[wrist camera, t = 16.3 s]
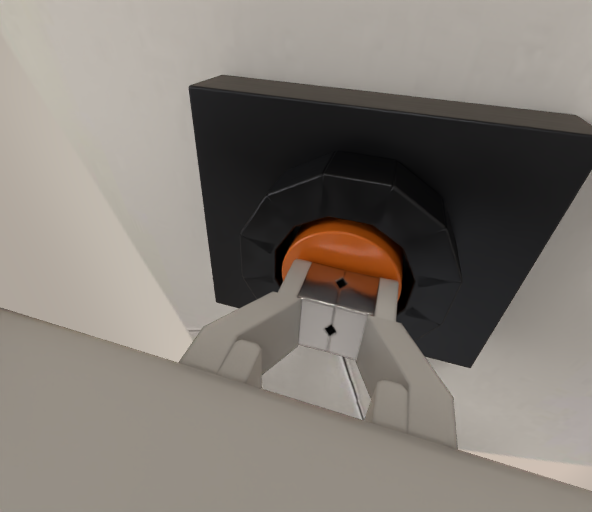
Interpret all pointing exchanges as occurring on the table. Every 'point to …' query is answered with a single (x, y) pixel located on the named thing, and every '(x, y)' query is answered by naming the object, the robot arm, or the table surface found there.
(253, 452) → the robot arm
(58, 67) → the table surface
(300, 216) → the control block
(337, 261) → the button
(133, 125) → the table surface
